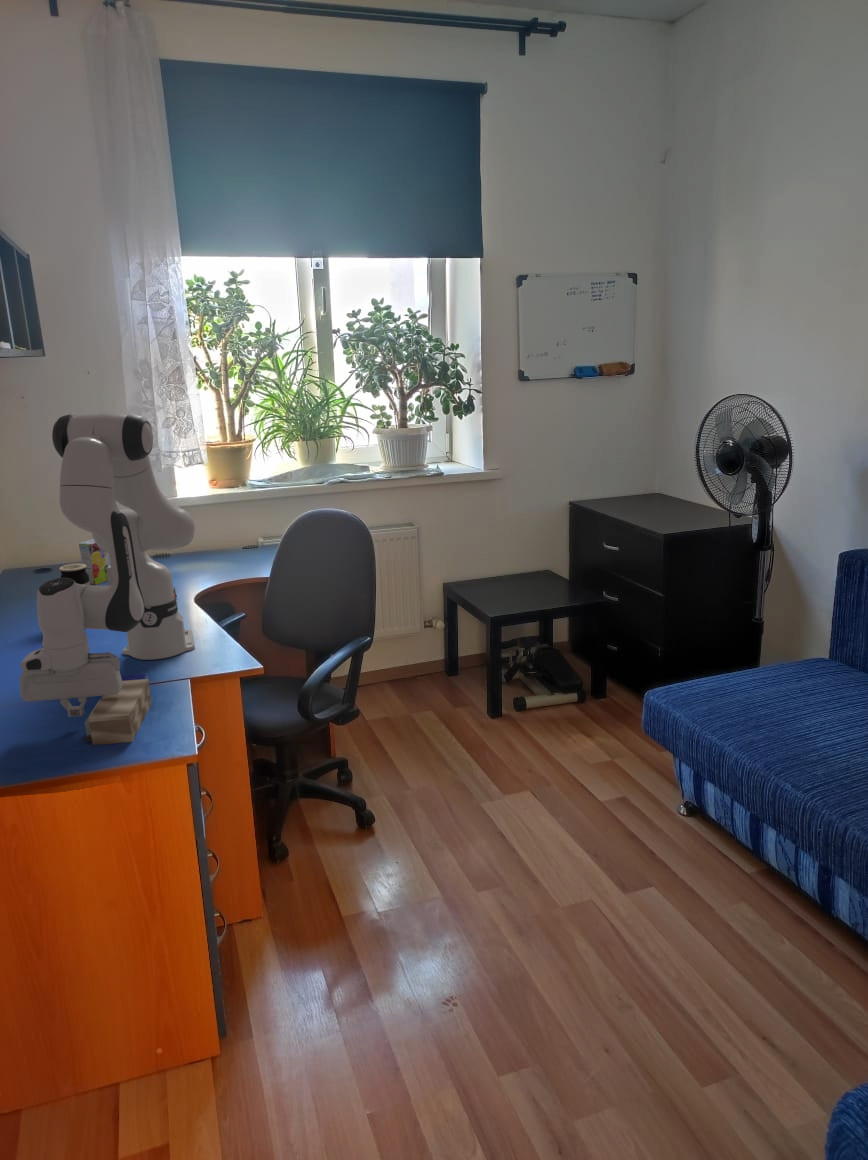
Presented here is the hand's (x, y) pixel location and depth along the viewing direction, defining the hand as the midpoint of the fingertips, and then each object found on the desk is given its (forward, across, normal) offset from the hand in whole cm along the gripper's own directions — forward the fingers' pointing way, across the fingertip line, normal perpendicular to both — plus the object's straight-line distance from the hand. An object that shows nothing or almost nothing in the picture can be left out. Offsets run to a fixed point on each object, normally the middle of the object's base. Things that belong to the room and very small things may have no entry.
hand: (76, 715), depth 183 cm
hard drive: (+3, -6, -21) cm, 22 cm away
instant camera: (+3, +5, -93) cm, 93 cm away
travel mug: (+3, +18, -76) cm, 78 cm away
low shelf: (+3, -8, 0) cm, 9 cm away
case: (+3, -8, 0) cm, 9 cm away
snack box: (+3, +21, -132) cm, 133 cm away
